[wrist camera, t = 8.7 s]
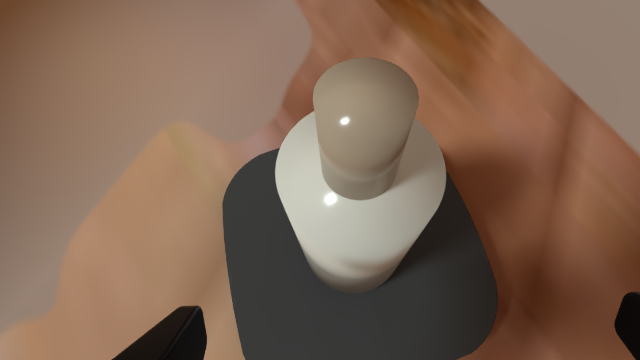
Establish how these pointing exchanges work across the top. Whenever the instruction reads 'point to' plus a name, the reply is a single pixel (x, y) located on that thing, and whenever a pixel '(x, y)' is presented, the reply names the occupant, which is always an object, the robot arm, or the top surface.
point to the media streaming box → (352, 308)
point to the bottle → (360, 174)
